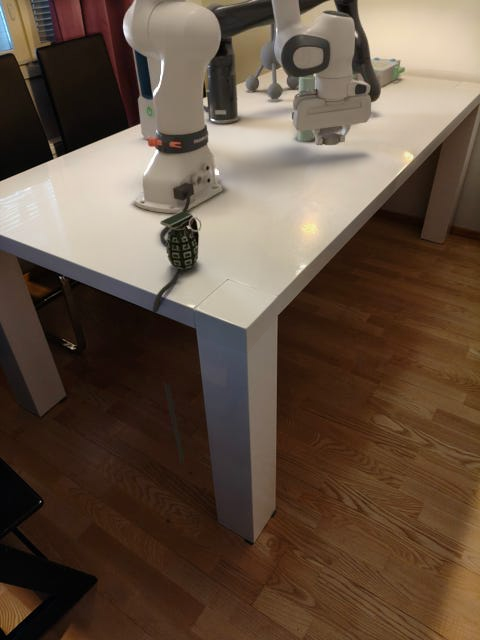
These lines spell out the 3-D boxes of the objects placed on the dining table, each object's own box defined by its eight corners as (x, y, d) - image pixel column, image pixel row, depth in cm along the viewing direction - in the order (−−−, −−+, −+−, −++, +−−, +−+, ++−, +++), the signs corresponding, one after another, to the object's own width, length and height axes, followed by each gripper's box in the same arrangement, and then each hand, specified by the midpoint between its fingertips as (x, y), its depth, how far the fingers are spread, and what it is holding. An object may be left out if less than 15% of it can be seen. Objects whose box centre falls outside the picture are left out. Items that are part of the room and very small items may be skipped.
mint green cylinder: (314, 140, 144) (318, 71, 133) (300, 142, 144) (302, 73, 132) (309, 136, 148) (312, 68, 137) (295, 137, 147) (297, 70, 136)
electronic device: (141, 137, 154) (123, 28, 136) (159, 131, 158) (144, 24, 140) (166, 145, 147) (151, 30, 129) (185, 138, 151) (172, 26, 133)
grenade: (182, 278, 88) (175, 228, 82) (162, 268, 91) (153, 219, 85) (208, 263, 92) (203, 214, 85) (187, 253, 95) (181, 205, 89)
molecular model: (318, 92, 188) (323, -1, 170) (273, 103, 179) (272, 6, 161) (281, 82, 204) (281, -3, 186) (237, 91, 195) (233, 3, 176)
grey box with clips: (365, 55, 208) (411, 58, 198) (363, 72, 212) (408, 76, 202) (337, 67, 192) (386, 71, 182) (336, 85, 196) (383, 90, 186)
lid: (327, 137, 132) (327, 131, 131) (342, 140, 130) (343, 134, 128) (317, 143, 129) (317, 136, 128) (333, 146, 127) (333, 139, 126)
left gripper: (297, 95, 117) (296, 152, 126) (376, 85, 120) (370, 141, 129) (289, 89, 122) (289, 144, 131) (365, 79, 125) (360, 134, 133)
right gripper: (316, 88, 151) (281, 100, 142) (355, 94, 143) (321, 107, 134) (315, 113, 156) (280, 126, 146) (353, 120, 148) (319, 135, 138)
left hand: (330, 143), depth 130 cm, fingers closed on lid, 5 cm apart
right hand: (300, 117), depth 140 cm, fingers closed on mint green cylinder, 4 cm apart
